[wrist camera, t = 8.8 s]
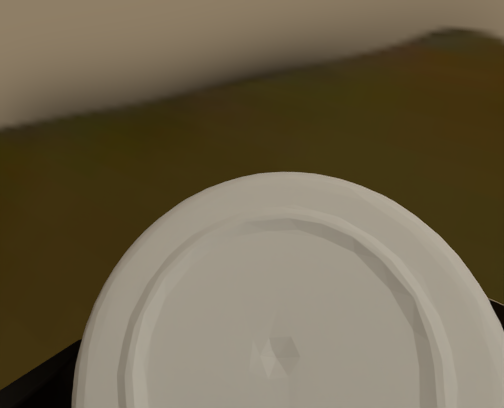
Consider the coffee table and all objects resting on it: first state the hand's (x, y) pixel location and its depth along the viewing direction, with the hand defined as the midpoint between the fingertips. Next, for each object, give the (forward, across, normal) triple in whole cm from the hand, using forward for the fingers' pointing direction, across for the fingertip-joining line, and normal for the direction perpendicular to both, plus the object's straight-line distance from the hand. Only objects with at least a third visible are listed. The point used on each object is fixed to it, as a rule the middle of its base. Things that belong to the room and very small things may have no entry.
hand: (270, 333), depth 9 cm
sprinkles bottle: (+5, 0, +6) cm, 8 cm away
